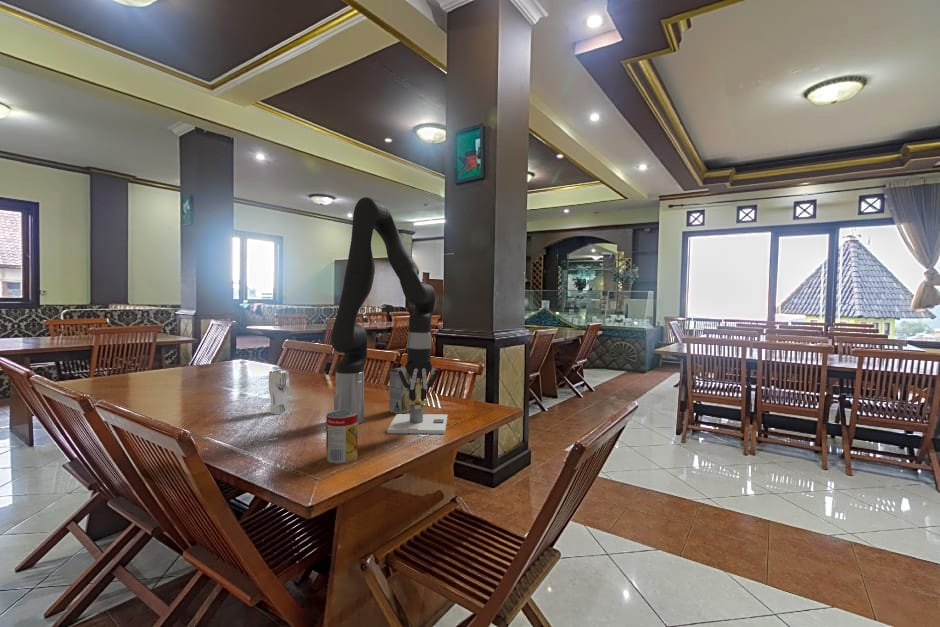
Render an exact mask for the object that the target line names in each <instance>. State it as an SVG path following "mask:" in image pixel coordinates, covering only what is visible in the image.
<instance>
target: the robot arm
mask: <svg viewBox="0 0 940 627" xmlns="http://www.w3.org/2000/svg"><path fill="white" fill-rule="evenodd" d="M374 230H375V232H377V233H378V235H379V236H380V238H381V239H382V242H383V243H384V245H385V248H386V255H387V259H388V262H389V265H390V267H391V268H392V269H393V272H394V273H395V274H396V276H397V278H398V280H399V283H400V287H401V290H402V292H403V295H404V297H405V299H406V300H407V301H408V303H410V304H411V305H412V306H415V307H414V311H413V313H411V314H410V315H409V317H408V335H407V343H406V348H407V349H406V364H405V366H404V367H405V368H403V369H398V370H397V372H398V374H399V377H400V379H401V381H402V383H403V385H404V387H405V388H408V389H409V399H410V400H411V401H414V385H415V382H416V379H417V380H418V379H420V380H421V382H422V401H424V400H425V399H426V397H427V396H428V395H427V394H428V392H427V389H429V388H433V386H434V384H435V382H436V380H437V378H438V376H439V373H440V369H438V368H435V367H433V365H432V363H431V362H432V317H433V315H434V314H433V313H434V309H435V304H436V298H437V297H436V290H435V289H434V287H433V286H432V285H431V284H429V283H424V282H422V281H421V280H420V278H419V275H420V270H419V267H418V266H417V264H416V262H415V260H414V259H413V257H412V256H411V254H410V252H409V250H408V248H407V246H406V245H405V243H404V242H403V239H402V236H401V235H400V232H399V230H398V227H397V225H396V223H395V220H394V217H393V215H392V212H391V210H390V209H389V206H387V204H386V203H385V202H382V201H379V200H378V199H374V198H371V197H367V196H366V197H364V196H363V197H362V198H360V199H359V200H358V201H357V203H356V204H355V206H354V210H353V215H352V226H351V237H350V238H351V241H350V246H349V252H348V257H347V263H346V267H345V273H344V278H343V286H342V289H341V290H342V291H341V295H340V296H341V297H340V300H339V305H338V310H337V313H336V316H335V320H334V323H333V326H332V330H331V335H330V344H331V346H332V348H333V350H334V351H335V352H337V353H343V356H342V358H341V359H340V360H339V361H338V362H336V365H335V394H334V395H333V411H334V410H342V409H349V410H355V411H357V425H359V424H361V423H363V422H364V421H365V366H366V363H367V357H368V334H367V330H366V329H365V327H364V326H362V325H361V324H358V323H356V321H357V316H358V313H359V312H360V310H361V308H362V306H363V304H364V303H365V301H366V300H367V298H368V296H369V295H370V292H371V291H372V288H373V284H374V279H375V273H376V267H375V266H376V265H375V260H374V256H373V251H372V250H373V249H372V238H373V234H374ZM406 371H407V372H408V373H409V375H410V383H409V384H408V383H407V381H406V379H405V377H404V375H405V374H406V373H405V372H406ZM429 373H431V375H430V378H429V380H427V376H428V375H429Z"/></svg>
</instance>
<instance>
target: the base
mask: <svg viewBox="0 0 940 627" xmlns="http://www.w3.org/2000/svg"><path fill="white" fill-rule="evenodd" d="M447 417H448V414H440V413H439V414H437V413H436V414H433V413H432V414H431V413H429V414H428V413H426V414H425V413H424V404H423V405H421V409H415V408H414V405H410V412H409V413H404V414H397V413H396V414H395V416H394V417H393V419H392V421H391V422H390V424H389V426H388V428H387V431H386V432H387V434H408V433H410V435H411V434H412V433H413V434H414V433H415V434H416V435H417V433H418V434H420V433H421V434H423V433H424V434H423V435H431V434H432V435H445V434H446V433H445V432H446V429H447V423H448V418H447ZM426 433H427V434H426ZM415 434H414V435H415Z"/></svg>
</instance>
